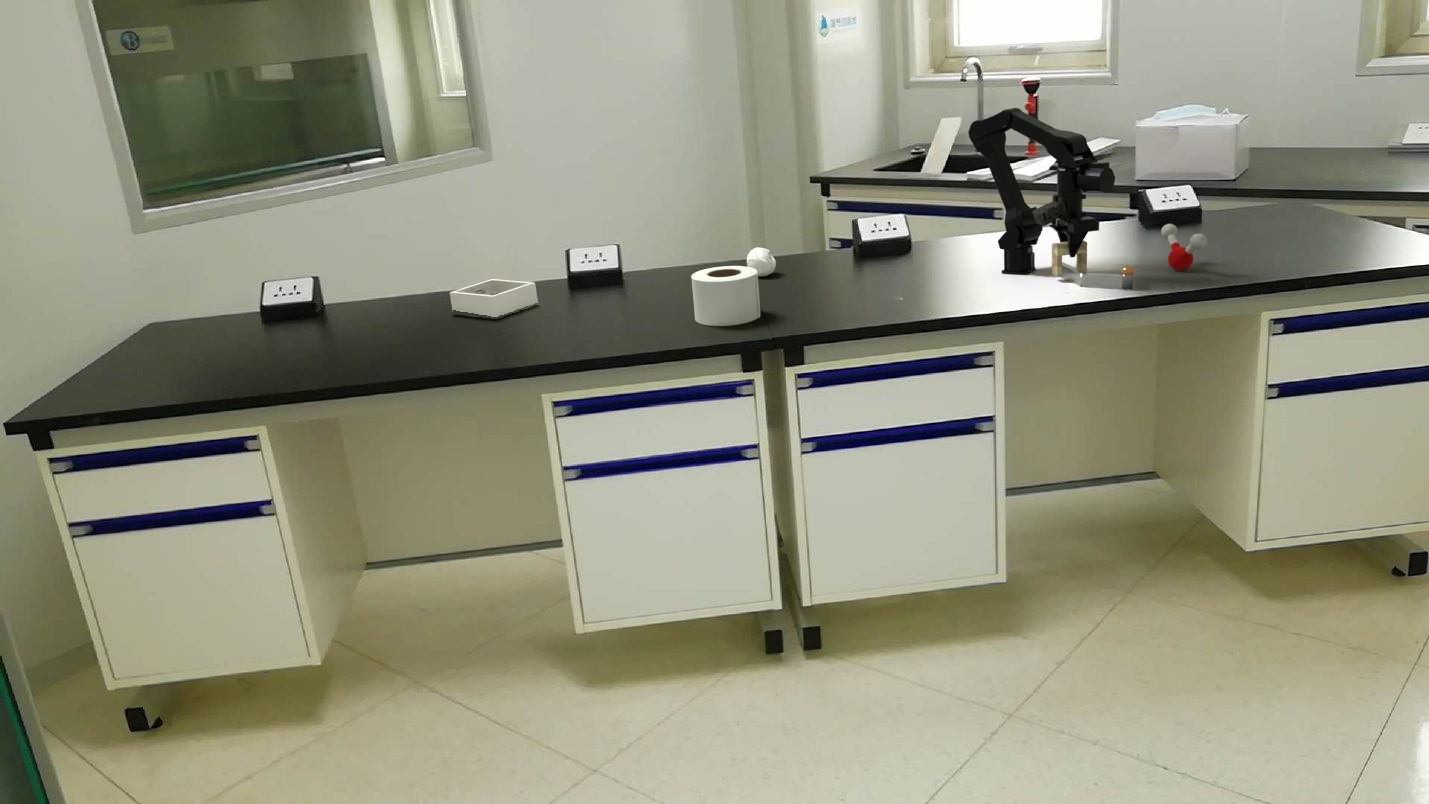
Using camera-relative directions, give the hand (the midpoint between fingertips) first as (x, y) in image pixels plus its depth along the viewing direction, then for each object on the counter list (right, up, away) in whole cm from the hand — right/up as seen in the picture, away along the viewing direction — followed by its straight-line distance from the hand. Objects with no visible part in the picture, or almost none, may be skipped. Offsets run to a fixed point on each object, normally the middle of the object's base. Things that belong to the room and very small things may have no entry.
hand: (1069, 255), depth 275 cm
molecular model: (+26, -4, 0) cm, 27 cm away
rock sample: (-141, -12, +24) cm, 144 cm away
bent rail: (+5, -6, -3) cm, 8 cm away
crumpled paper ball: (-71, -1, +35) cm, 79 cm away
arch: (0, -4, +1) cm, 4 cm away
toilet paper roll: (-81, -15, -3) cm, 82 cm away
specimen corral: (-141, -11, +26) cm, 143 cm away
